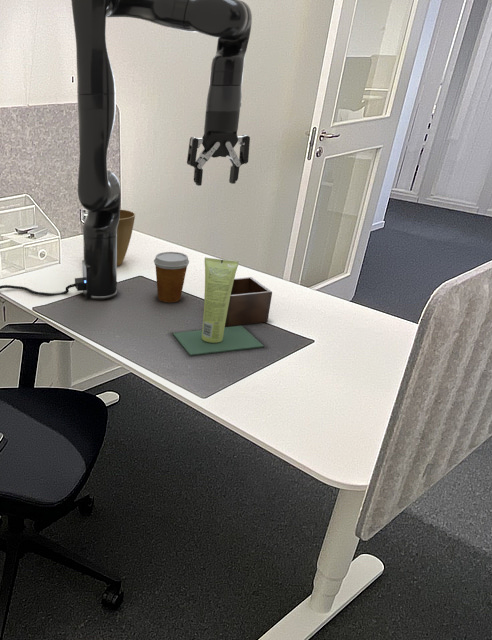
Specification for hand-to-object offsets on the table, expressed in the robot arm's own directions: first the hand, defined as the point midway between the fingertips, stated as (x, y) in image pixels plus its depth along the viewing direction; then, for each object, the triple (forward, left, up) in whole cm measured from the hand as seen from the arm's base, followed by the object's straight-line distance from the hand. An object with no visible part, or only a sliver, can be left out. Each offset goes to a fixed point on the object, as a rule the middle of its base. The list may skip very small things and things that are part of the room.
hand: (215, 184), depth 136 cm
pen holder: (+7, -6, -32) cm, 33 cm away
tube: (-5, -19, -32) cm, 37 cm away
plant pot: (-14, +45, -32) cm, 57 cm away
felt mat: (-4, -19, -32) cm, 37 cm away
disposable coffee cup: (-6, +10, -32) cm, 34 cm away
